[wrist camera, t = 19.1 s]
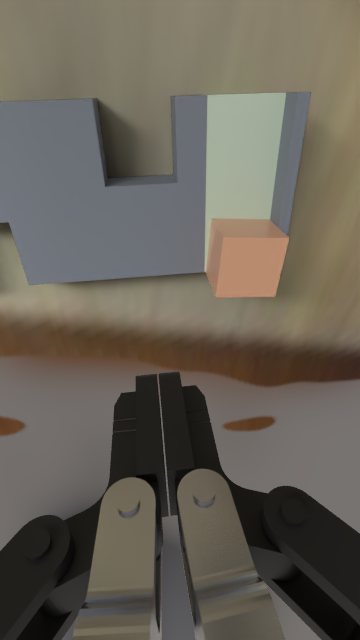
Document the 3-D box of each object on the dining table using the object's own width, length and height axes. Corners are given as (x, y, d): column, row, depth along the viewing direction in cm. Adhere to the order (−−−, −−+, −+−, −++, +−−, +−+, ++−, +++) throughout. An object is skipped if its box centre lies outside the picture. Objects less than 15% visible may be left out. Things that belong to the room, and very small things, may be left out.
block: (211, 218, 25) (223, 237, 21) (269, 219, 25) (289, 237, 22) (205, 273, 27) (215, 297, 24) (258, 272, 28) (275, 296, 24)
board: (-210, 108, 21) (-291, 111, 17) (281, 92, 23) (311, 91, 19) (-110, 279, 27) (-151, 310, 24) (261, 252, 30) (280, 276, 26)
